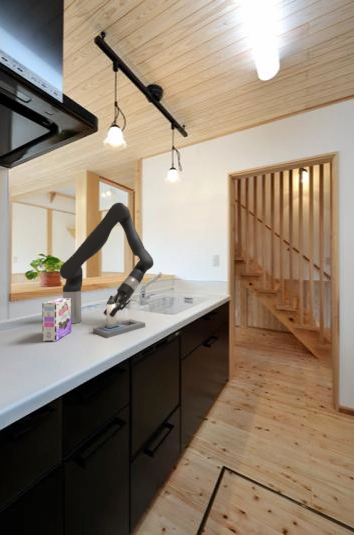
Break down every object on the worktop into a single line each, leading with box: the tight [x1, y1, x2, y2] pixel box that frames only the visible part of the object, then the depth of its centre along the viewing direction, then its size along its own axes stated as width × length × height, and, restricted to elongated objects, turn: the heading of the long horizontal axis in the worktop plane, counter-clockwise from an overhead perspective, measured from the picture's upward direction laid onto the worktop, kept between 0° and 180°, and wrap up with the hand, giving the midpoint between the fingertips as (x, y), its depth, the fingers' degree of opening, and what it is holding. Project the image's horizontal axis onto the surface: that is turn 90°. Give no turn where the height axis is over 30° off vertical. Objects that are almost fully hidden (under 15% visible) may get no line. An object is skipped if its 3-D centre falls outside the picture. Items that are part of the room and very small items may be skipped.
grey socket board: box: [92, 319, 146, 339], centre depth 111 cm, size 12×22×2 cm, turn 140°
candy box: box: [41, 297, 72, 342], centre depth 101 cm, size 14×6×16 cm, turn 179°
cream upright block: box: [105, 299, 117, 328], centre depth 107 cm, size 4×4×13 cm
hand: (108, 315), depth 106 cm, fingers closed on cream upright block, 4 cm apart
